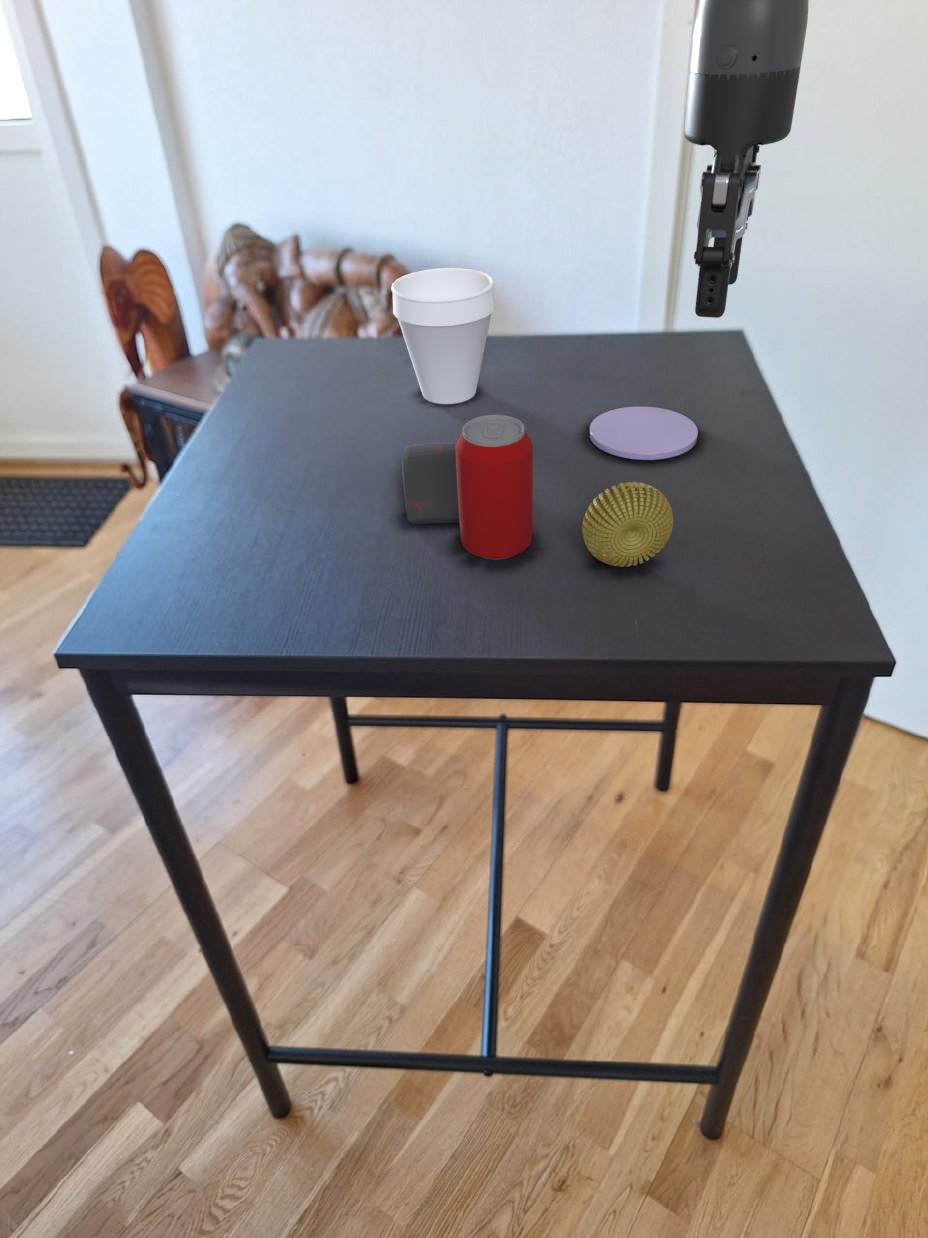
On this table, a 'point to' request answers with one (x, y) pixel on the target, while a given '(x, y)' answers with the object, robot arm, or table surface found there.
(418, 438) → the table surface
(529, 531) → the beverage can
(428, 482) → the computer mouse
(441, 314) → the cup
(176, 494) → the table surface
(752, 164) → the robot arm
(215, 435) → the table surface
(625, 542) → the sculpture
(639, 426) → the saucer
